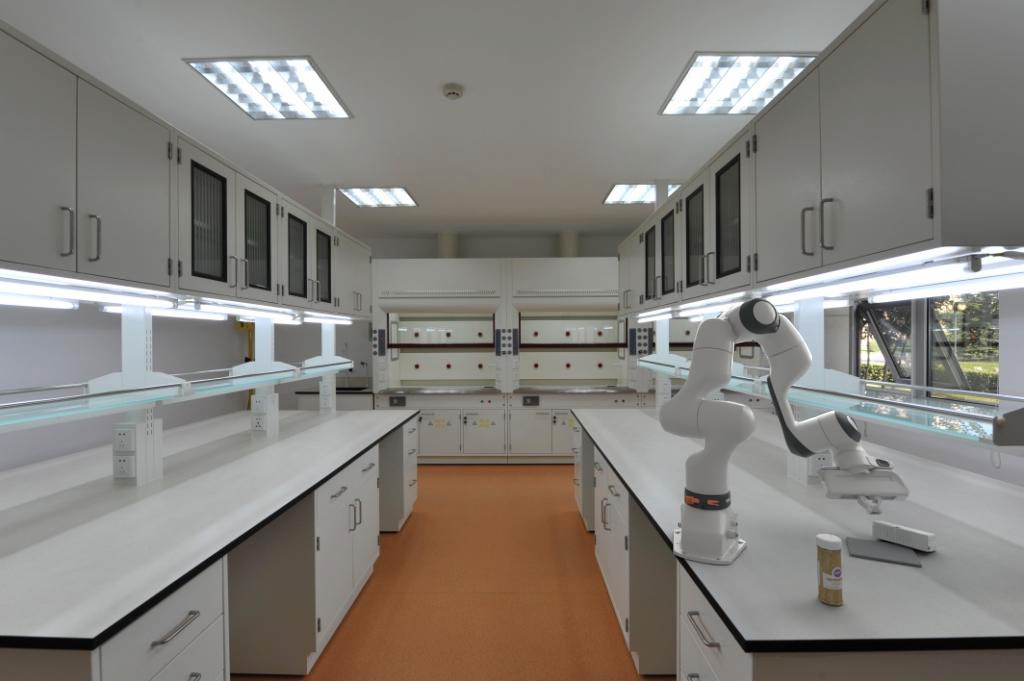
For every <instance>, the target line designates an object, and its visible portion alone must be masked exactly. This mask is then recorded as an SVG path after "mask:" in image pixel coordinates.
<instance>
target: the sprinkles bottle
mask: <svg viewBox="0 0 1024 681" xmlns="http://www.w3.org/2000/svg"><path fill="white" fill-rule="evenodd" d="M842 544H843V543H842V539H841V538H840V537H839V536H838V535H837V536H836V535H832V534H829V533H818V534H816V536H815V545H816V555H817V556H816V570H817V571H816V572H817V585H818V594H817V598H818V600H819V601H821V602H822V603H824V604H826V605H829V606H836V607H837V606H842V605H843V603H844V600H843V570H842V567H843V566H842V553H841V552H842V548H843V547H842V546H843V545H842Z"/></svg>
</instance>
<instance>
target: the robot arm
mask: <svg viewBox="0 0 1024 681" xmlns="http://www.w3.org/2000/svg"><path fill="white" fill-rule="evenodd" d="M751 340H753V341H755V342H756V343H758V345H759V346H760V347H761V350H762V352H763V354H764V355H765V357H766V358H767V361H768V364H769V367H770V368H769V374H768V375H767V377H766V384H767V388H768V391H769V392H768V393H769V394H770V398H771V401H772V404H773V406H774V410H775V412H776V416H777V418H778V421H779V424H780V428H781V430H782V434H783V439H784V443H785V445H786V448H787V449H788V451H790V453H791V454H793V455H795V456H796V457H797V456H798V457H801V458H803V459H807V458H809V457H812V456H815V455H817V454H818V453H821V452H824V451H825V452H826V451H829V452H830V453H831V455H832V461H833V464H834V466H821V467H820V468H818V469H817V470H816V473H817V478H819V480H820V482H821V488H822V491H823V495H824V496H825V497H826V498H827V499H829V500H854V501H857V503H858V504H859V505H860V506H861V507H862V508H864V509H865V511H866V513H867V515H873V516H874V515H882V513H883V509H882V508H881V505H882V501H889V502H890V501H891V502H892V501H895V502H897V501H899V502H904V501H905V500H906V499H907V498H908V497H909V496H910V494H911V492H910V489H909V487H908V485H907V483H906V481H905V480H904V478H903V476H902V475H901V474H900V473H899V472H898V471H896V470H894V467H895V466H894V463H893V462H892V461H890V460H886V459H882V458H878V457H875V456H872V455H869V454H868V452H867V451H866V450H865V449H864V445H863V440H862V433H861V431H860V430H859V427H858V425H857V423H856V422H855V419H854V418H853V416H851V415H850V416H851V418H850V416H848V415H849V414H848V415H845V413H846V412H843V411H840V410H832V411H829V412H826V413H825V412H824V413H822V414H819V415H817V416H815V417H812V418H808V419H806V420H802V421H797V420H796V419H795V418H796V417H795V415H794V412H793V410H792V407H791V405H790V401H789V398H788V392H789V390H790V388H792V386H793V385H794V384H796V382H798V381H799V380H800V379H801V378H802V377H803V376H804V375H806V374H807V372H808V371H809V369H810V367H811V366H812V363H813V362H812V360H813V356H812V354H811V352H810V351H811V350H810V349H809V347H808V345H807V343H806V341H805V340H804V338H803V337H802V335H801V333H800V332H799V331H798V330H797V327H795V326H794V324H793V323H792V322H791V321H790V320H789V319H788V317H786V316H785V315H783V314H780V313H779V311H778V310H777V308H776V306H775V305H774V304H773V303H772V302H770V301H769V300H768V299H766V298H763V297H754V298H750V299H747V300H744V301H743V302H741V303H739V304H737V305H733V306H732V307H730V308H728V309H727V310H725V311H724V312H722V313H720V314H719V315H717V316H716V317H709V318H706V319H704V320H703V321H701V322H700V324H699V326H698V328H697V330H696V334H695V338H694V341H693V347H692V354H691V361H690V365H689V366H690V367H689V371H688V375H687V378H686V380H685V382H684V384H683V386H682V387H681V388H680V390H679V391H678V392H677V393H675V395H674V396H672V397H671V398H669V399H668V400H666V401H665V402H664V403H663V404H662V405H661V406H660V409H659V412H658V417H659V418H658V419H659V423H660V426H661V429H662V430H663V431H664V432H665V433H667V434H672V435H673V436H674V435H675V436H677V437H681V438H690V439H697V440H698V439H699V440H703V441H704V449H701V450H698V451H696V452H694V453H692V454H690V455H689V457H688V458H687V459H686V461H685V465H684V466H685V486H684V491H683V497H684V503H682V504H681V505H680V522H678V523H677V527H678V528H679V529H673V537H672V538H673V540H672V542H673V543H672V547H673V549H672V552H673V555H675V556H678V557H679V558H682V559H686V560H690V561H694V562H699V563H704V564H712V565H731V564H732V563H733V562H734V561H735V560H736V559H737V557H738V556H739V555H740V554H741V553H742V551H743V550H744V549H745V548H746V547H747V543H746V540H744V539H742V538H740V536H739V535H740V534H739V523H738V522H739V521H738V520H739V519H738V513H737V512H736V511H735V510H734V508H732V506H731V504H732V495H731V491H730V489H729V472H730V463H731V459H732V457H733V455H734V453H735V452H736V450H737V449H738V448H739V447H740V446H741V445H742V444H744V443H745V442H747V441H748V440H750V438H751V437H753V435H754V433H755V431H756V427H757V424H756V423H757V420H756V418H755V414H754V413H753V410H752V409H751V407H749V405H747V404H742V403H739V402H734V401H729V400H712V399H711V400H710V397H711V396H712V395H713V394H714V393H716V392H717V391H719V390H722V389H724V388H725V387H727V386H728V385H729V383H730V382H731V380H732V372H733V371H732V370H733V360H734V351H735V350H734V349H735V346H736V345H740V343H744V342H749V341H751ZM867 501H871V502H872V504H874V505H871V504H869V503H868V502H867Z"/></svg>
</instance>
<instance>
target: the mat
mask: <svg viewBox="0 0 1024 681" xmlns="http://www.w3.org/2000/svg"><path fill="white" fill-rule="evenodd" d="M845 541H846V544H847V545H846V546H847V548H848V551H849V555H850V557H853V556H855V558H860V559H861V558H862V559H867V560H873V561H879V562H885V563H892V564H899V565H905V566H911V567H917V568H923V564H922V562H921V561H920V560H919V557H918V556H917V554H916V552H915V551H914V548H911V547H908V546H904V545H901V544H897V543H893V542H887V541H886V542H884V541H878V540H871V539H870V540H869V539H865V538H858V537H857V538H856V537H850V536H845Z"/></svg>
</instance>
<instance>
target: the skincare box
mask: <svg viewBox="0 0 1024 681" xmlns="http://www.w3.org/2000/svg"><path fill="white" fill-rule="evenodd" d="M871 528H872V531H871V532H872V533H871V534H872V538H876V539H880V540H883V541H886V542H889V543H893V544H900V545H904V546H908V547H911V548H912V549H915V550H919V551H923V552H927V553H928V552H934V551H936V550H937V535H936V533H931V532H928V531H924V530H919V529H916V528H912V527H908V526H903V525H899V524H895V523H891V522H888V521H883V520H874V521H872V527H871Z"/></svg>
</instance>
